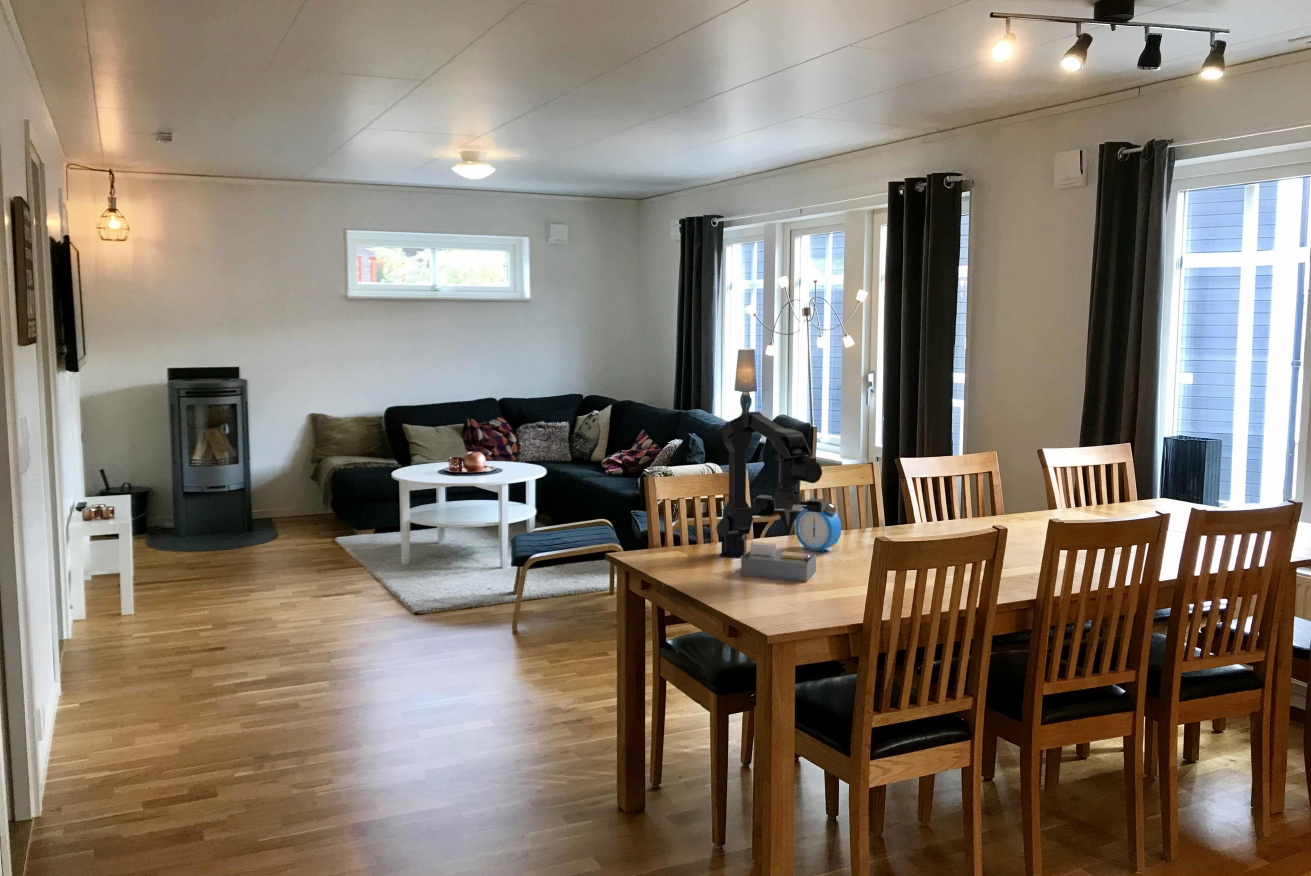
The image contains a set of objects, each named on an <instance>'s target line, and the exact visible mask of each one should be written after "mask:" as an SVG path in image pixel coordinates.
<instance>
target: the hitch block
mask: <svg viewBox="0 0 1311 876" xmlns="http://www.w3.org/2000/svg"><path fill="white" fill-rule="evenodd" d="M783 552H787V550H786V551H785V550H776V555H775V556H773V557H763V556H756V555H750V550H749V551H748V552H746V554H744V555H743V556H742V557H740V558H741V561H740V564H741V567H740V568H741V571H740V574H741V575H740V576H741V577H751V578H759V579H768V580H778V581H779V580H780V581H789V582H800V583H807V582H808V581H809V580H810V579H811V578H812V577H813V576H814V575H815V573H816V572H817V553H810V554H811V557H810V558H809V559H808V560H803V559H791V558H781V554H782V553H783ZM794 552H795V553H799V552H797V551H794ZM807 554H809V553H807Z"/></svg>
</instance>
